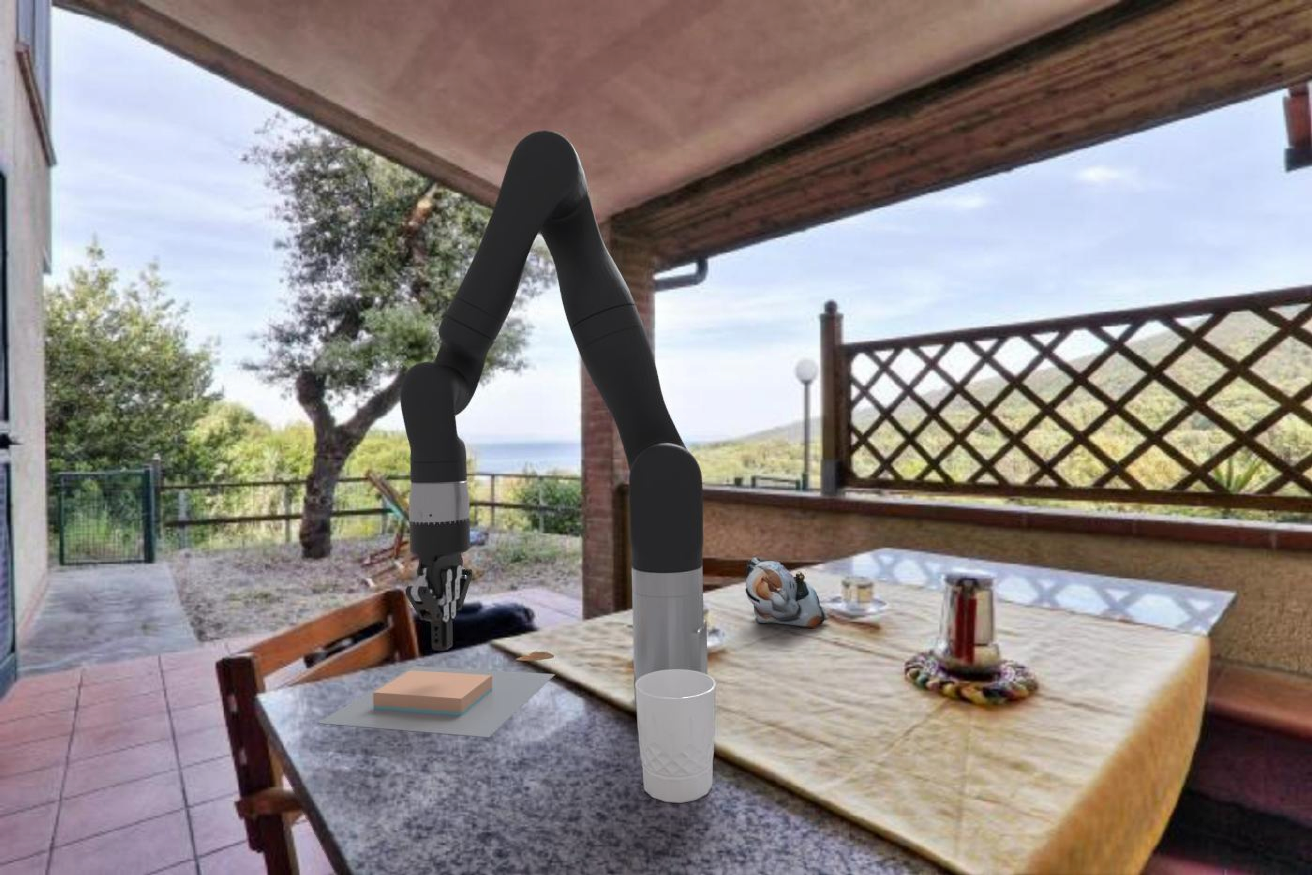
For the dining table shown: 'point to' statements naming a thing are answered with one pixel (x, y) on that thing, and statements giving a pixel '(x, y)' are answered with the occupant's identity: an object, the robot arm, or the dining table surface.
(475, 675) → the tile
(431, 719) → the board
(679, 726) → the white cup
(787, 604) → the lucky cat figurine
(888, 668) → the dining table surface
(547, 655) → the shard
